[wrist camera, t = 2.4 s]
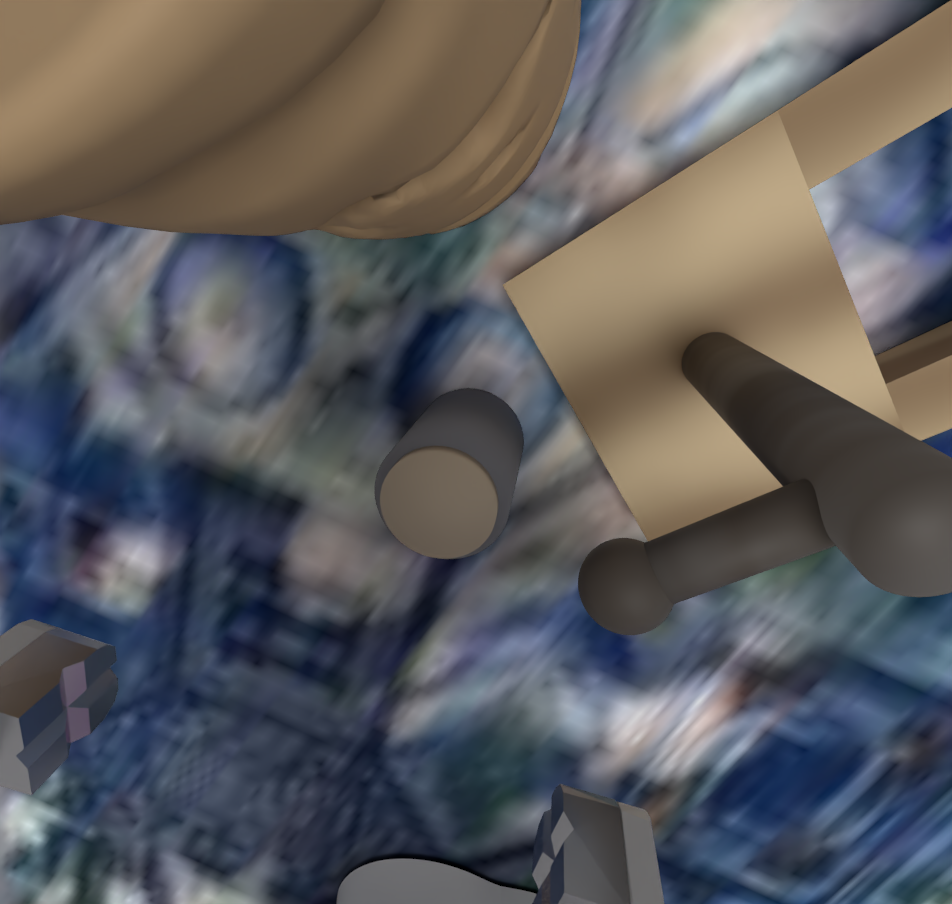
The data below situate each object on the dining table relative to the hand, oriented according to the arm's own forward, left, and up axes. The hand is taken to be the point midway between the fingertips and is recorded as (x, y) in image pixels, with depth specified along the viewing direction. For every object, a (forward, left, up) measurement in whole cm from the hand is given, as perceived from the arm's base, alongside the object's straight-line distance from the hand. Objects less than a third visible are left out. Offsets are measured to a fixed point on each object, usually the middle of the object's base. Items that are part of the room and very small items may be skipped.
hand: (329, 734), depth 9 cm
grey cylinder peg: (0, 0, -16) cm, 16 cm away
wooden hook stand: (-1, -13, -16) cm, 20 cm away
